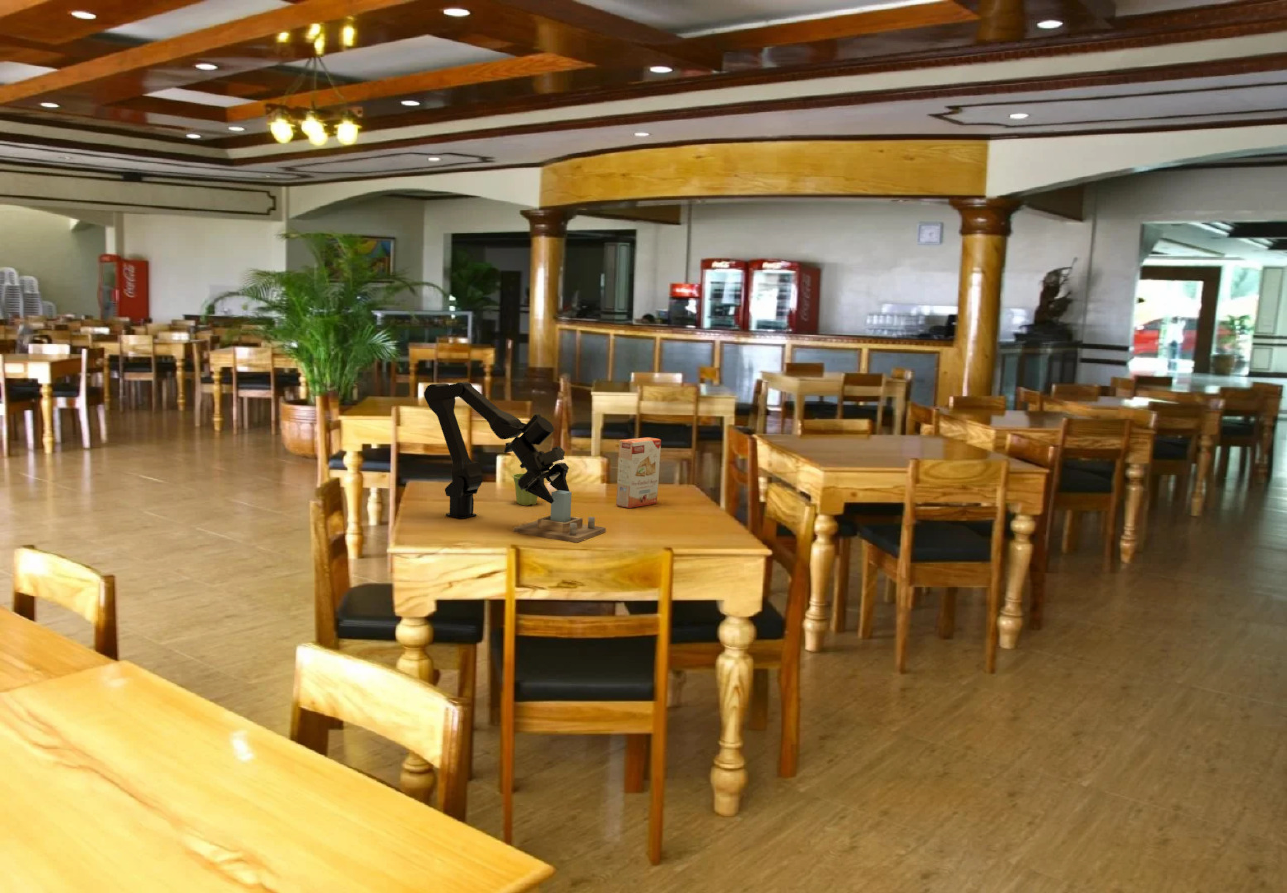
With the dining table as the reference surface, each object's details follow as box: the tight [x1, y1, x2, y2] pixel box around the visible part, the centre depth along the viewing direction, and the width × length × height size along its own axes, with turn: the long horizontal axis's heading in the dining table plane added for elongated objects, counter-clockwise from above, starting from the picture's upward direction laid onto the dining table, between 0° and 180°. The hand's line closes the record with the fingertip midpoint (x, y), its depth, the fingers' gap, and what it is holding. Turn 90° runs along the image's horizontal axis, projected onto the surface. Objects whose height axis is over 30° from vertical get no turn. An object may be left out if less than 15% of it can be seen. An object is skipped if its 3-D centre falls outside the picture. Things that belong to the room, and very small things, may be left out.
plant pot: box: [512, 472, 539, 506], centre depth 332 cm, size 9×9×9 cm
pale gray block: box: [550, 490, 573, 523], centre depth 295 cm, size 4×4×10 cm
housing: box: [512, 514, 607, 543], centre depth 295 cm, size 20×16×4 cm
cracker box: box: [615, 436, 662, 509], centre depth 337 cm, size 14×6×21 cm, turn 140°
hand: (561, 499), depth 294 cm, fingers open, 9 cm apart
